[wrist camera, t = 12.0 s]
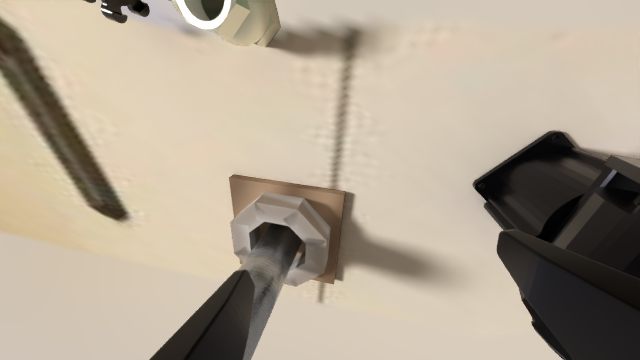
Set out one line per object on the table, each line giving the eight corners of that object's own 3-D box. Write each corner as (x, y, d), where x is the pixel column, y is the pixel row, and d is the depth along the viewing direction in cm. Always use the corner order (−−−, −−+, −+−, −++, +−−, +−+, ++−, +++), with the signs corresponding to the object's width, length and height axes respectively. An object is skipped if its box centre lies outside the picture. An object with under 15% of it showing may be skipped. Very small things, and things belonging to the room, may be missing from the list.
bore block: (345, 191, 22) (341, 207, 19) (334, 278, 27) (330, 301, 24) (233, 174, 24) (215, 186, 21) (243, 259, 29) (230, 277, 26)
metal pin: (277, 212, 24) (199, 322, 13) (309, 232, 24) (258, 357, 13) (262, 236, 26) (184, 349, 15) (292, 254, 26) (235, 379, 15)
